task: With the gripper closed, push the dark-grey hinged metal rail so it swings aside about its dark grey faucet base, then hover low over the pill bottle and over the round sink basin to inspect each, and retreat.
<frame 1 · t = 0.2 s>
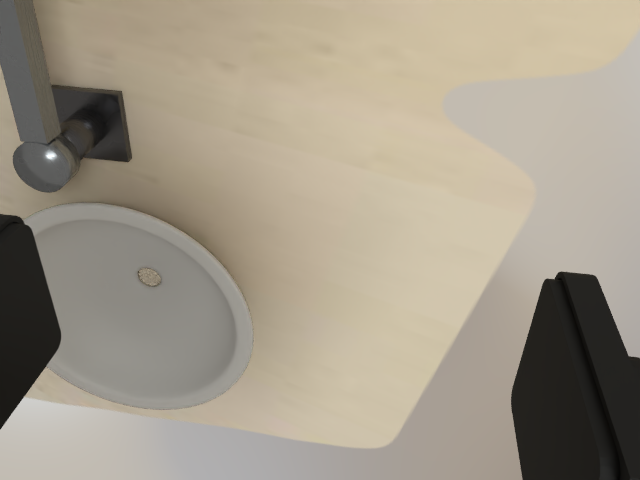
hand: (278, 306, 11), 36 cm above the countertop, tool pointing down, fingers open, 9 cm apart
dark grey faucet base: (93, 122, 51), on the countertop
round sink basin: (151, 274, 60), on the countertop
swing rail: (25, 68, 41), point 8 cm above the countertop, hinge at 0.0°
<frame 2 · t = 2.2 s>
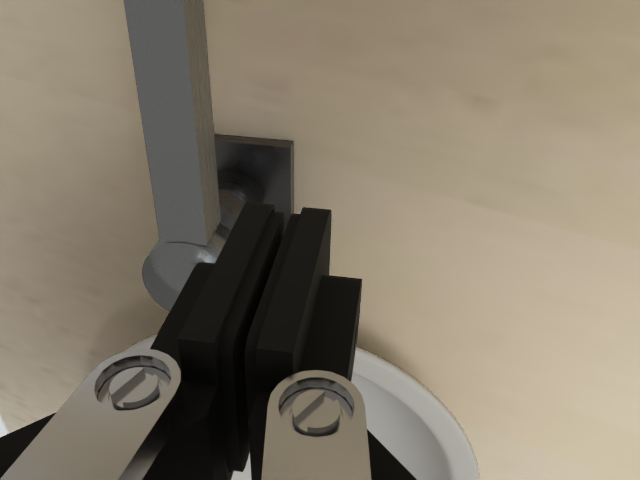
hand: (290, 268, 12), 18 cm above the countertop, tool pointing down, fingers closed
dark grey faucet base: (239, 187, 33), on the countertop
round sink basin: (294, 391, 42), on the countertop
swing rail: (178, 119, 23), point 7 cm above the countertop, hinge at 0.0°
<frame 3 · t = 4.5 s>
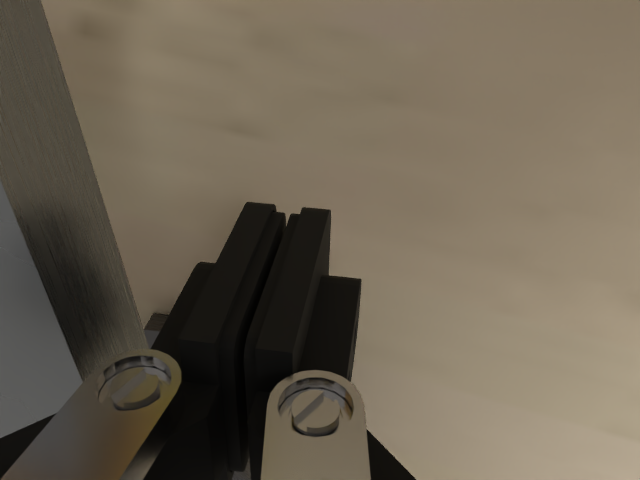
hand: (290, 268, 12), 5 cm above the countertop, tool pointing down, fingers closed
dark grey faucet base: (243, 389, 21), on the countertop
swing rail: (91, 421, 11), point 7 cm above the countertop, hinge at 7.7°, touching gripper
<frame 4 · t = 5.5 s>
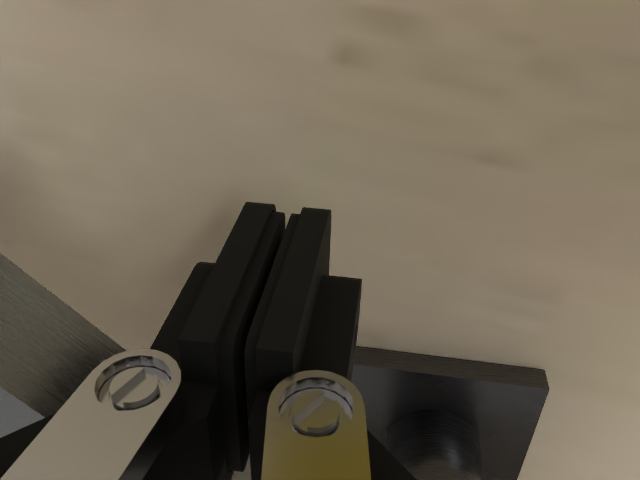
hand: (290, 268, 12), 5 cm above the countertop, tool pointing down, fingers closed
dark grey faucet base: (432, 422, 20), on the countertop
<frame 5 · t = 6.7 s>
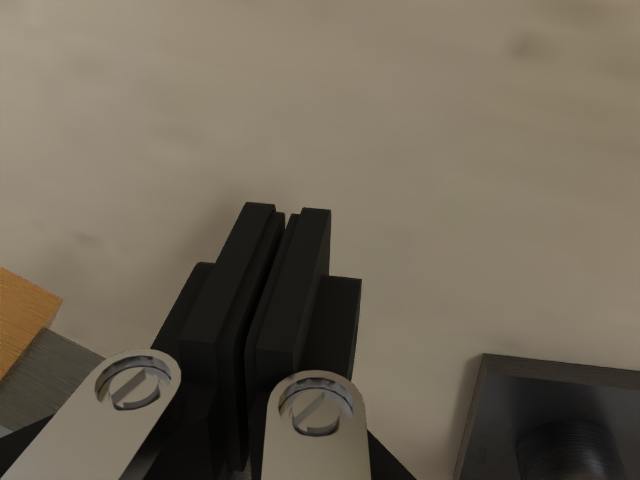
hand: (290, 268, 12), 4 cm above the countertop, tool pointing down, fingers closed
dark grey faucet base: (560, 432, 20), on the countertop
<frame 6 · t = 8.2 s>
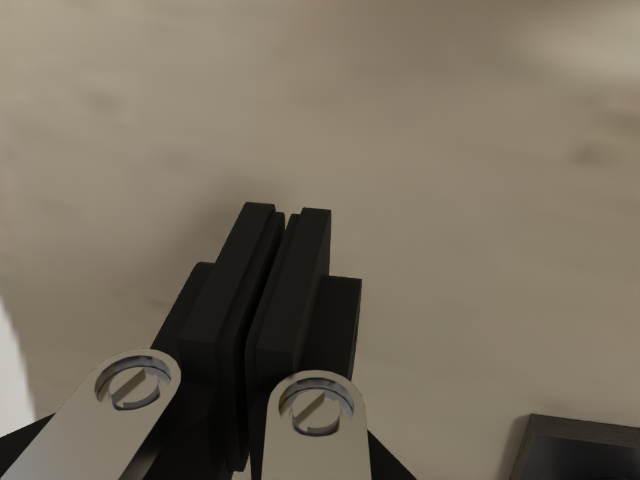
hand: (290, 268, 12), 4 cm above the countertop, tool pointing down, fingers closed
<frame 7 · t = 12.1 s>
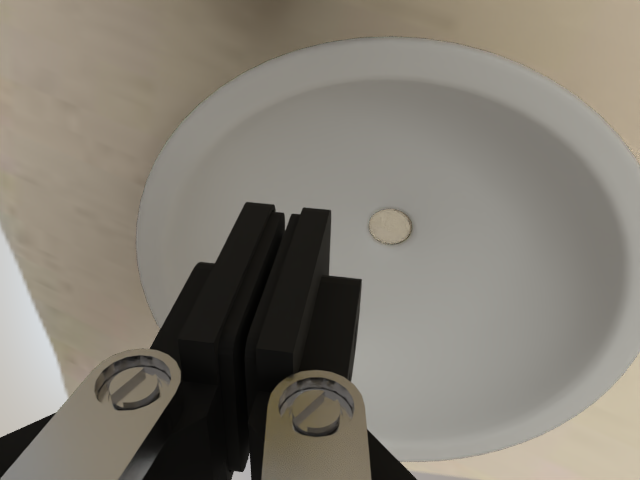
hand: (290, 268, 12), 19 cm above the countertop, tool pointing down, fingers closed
round sink basin: (390, 223, 34), on the countertop
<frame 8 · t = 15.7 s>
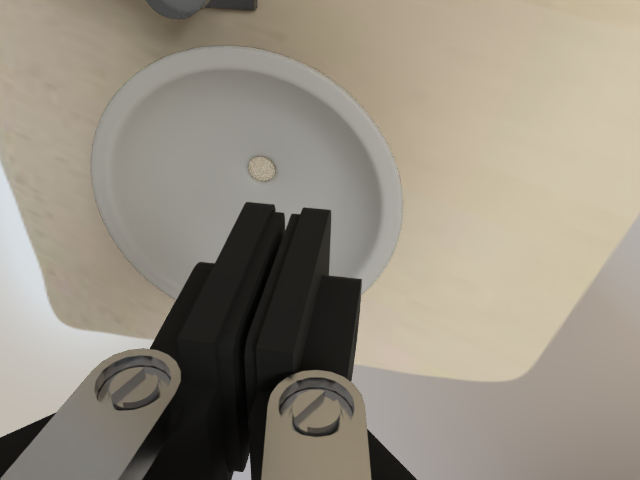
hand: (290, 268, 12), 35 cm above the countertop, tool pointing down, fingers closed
round sink basin: (262, 166, 51), on the countertop
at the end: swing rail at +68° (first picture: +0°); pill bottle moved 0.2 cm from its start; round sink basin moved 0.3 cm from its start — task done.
